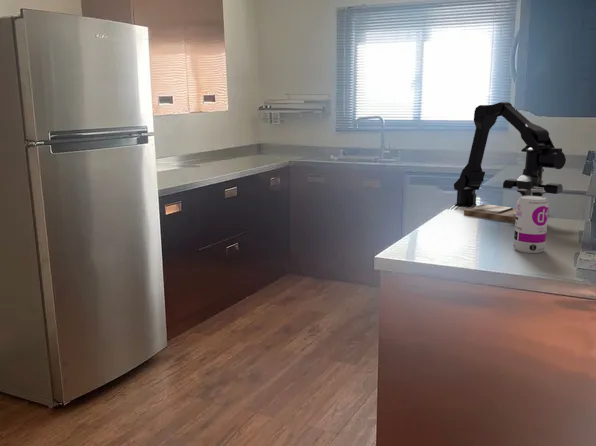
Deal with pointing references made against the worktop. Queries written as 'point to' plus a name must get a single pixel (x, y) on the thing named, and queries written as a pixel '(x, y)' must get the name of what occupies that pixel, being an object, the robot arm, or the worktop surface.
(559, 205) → the worktop surface
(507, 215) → the tan backing board
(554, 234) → the worktop surface
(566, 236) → the worktop surface
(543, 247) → the supplement can
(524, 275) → the worktop surface
